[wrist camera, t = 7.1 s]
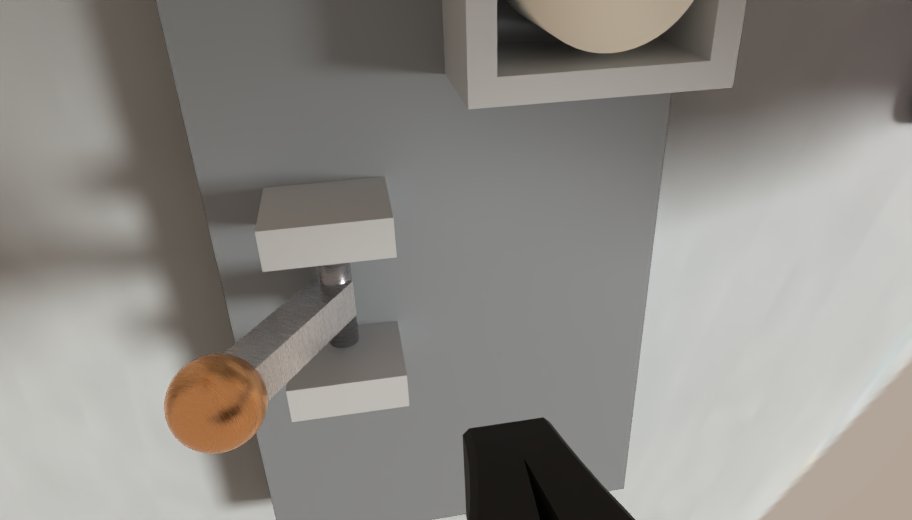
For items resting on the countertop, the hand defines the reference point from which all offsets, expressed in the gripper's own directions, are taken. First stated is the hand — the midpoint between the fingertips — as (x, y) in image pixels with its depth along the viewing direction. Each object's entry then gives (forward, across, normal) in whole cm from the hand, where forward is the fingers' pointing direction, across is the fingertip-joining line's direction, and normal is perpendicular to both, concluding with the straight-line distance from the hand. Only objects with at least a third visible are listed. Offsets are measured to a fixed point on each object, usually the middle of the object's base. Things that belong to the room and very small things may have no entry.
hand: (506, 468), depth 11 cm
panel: (+10, 0, -4) cm, 11 cm away
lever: (+7, +3, +1) cm, 8 cm away
